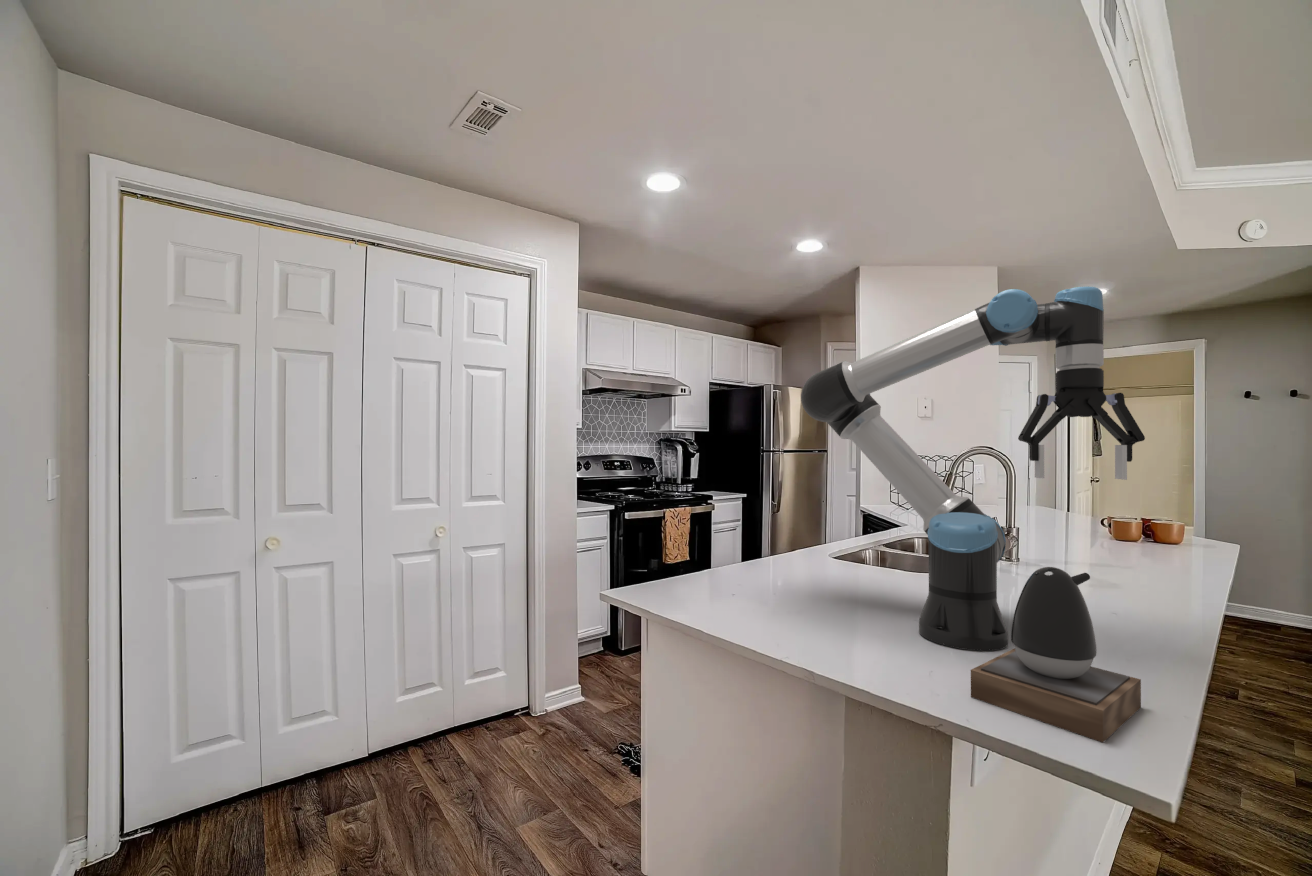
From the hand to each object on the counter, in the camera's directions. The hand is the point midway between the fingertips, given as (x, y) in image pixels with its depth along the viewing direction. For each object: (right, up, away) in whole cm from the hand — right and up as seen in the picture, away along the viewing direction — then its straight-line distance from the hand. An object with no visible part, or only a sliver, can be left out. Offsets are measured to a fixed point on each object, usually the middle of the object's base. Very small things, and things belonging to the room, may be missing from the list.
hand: (1079, 478), depth 111 cm
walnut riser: (-24, -30, -28) cm, 48 cm away
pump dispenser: (-24, -26, -28) cm, 45 cm away
